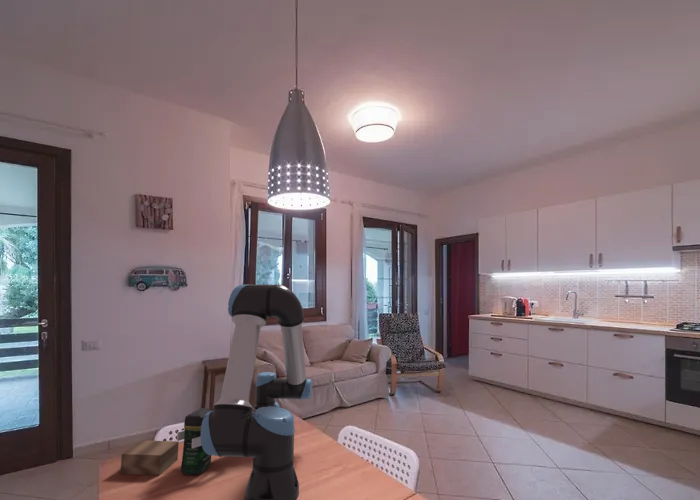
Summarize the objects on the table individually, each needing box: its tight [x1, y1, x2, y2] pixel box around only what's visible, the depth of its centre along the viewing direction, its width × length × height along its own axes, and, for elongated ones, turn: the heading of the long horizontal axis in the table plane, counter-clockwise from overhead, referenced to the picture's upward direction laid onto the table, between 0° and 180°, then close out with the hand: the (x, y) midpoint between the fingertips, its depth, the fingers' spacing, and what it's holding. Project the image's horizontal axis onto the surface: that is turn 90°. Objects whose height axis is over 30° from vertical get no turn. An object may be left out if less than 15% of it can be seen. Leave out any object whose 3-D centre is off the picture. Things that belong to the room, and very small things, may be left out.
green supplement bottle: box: [180, 407, 213, 476], centre depth 122 cm, size 10×8×19 cm
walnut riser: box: [119, 439, 180, 476], centre depth 123 cm, size 13×11×6 cm
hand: (184, 439), depth 119 cm, fingers closed on green supplement bottle, 9 cm apart
